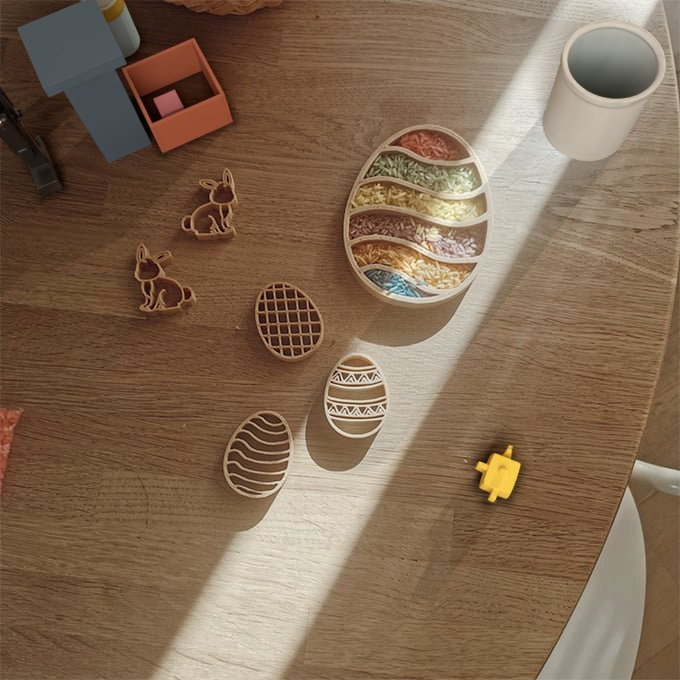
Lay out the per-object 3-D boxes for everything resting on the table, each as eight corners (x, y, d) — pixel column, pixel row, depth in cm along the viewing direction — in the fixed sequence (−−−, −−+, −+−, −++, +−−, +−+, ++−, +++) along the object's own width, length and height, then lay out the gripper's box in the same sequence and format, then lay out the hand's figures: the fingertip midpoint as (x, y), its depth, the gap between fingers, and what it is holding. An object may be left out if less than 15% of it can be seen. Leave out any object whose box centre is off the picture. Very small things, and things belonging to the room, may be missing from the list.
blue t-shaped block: (103, 180, 124) (42, 88, 102) (80, 128, 128) (16, 27, 106) (168, 152, 126) (122, 54, 103) (143, 101, 129) (93, -5, 107)
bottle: (144, 58, 133) (116, -6, 118) (106, 67, 132) (74, 3, 118) (139, 28, 135) (110, -38, 121) (101, 37, 135) (69, -29, 121)
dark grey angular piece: (43, 196, 122) (14, 158, 112) (25, 151, 126) (-5, 110, 115) (63, 188, 123) (35, 149, 112) (44, 143, 126) (16, 102, 116)
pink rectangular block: (183, 106, 123) (189, 121, 127) (174, 89, 125) (180, 104, 128) (161, 116, 123) (168, 130, 127) (153, 98, 124) (159, 113, 128)
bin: (164, 157, 125) (150, 127, 117) (137, 100, 130) (121, 68, 122) (234, 126, 127) (224, 94, 119) (205, 71, 131) (193, 37, 123)
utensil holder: (618, 178, 120) (656, 111, 103) (528, 156, 122) (551, 87, 105) (635, 106, 124) (675, 30, 107) (548, 86, 126) (574, 9, 110)
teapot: (483, 441, 106) (488, 434, 101) (522, 457, 105) (529, 450, 100) (464, 493, 104) (469, 488, 99) (503, 509, 103) (509, 505, 98)
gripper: (2, 88, 96) (72, 183, 118) (-32, 5, 101) (42, 111, 124) (-52, 111, 96) (29, 203, 118) (-84, 26, 101) (0, 129, 123)
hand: (35, 156), depth 121 cm, fingers closed on dark grey angular piece, 3 cm apart
